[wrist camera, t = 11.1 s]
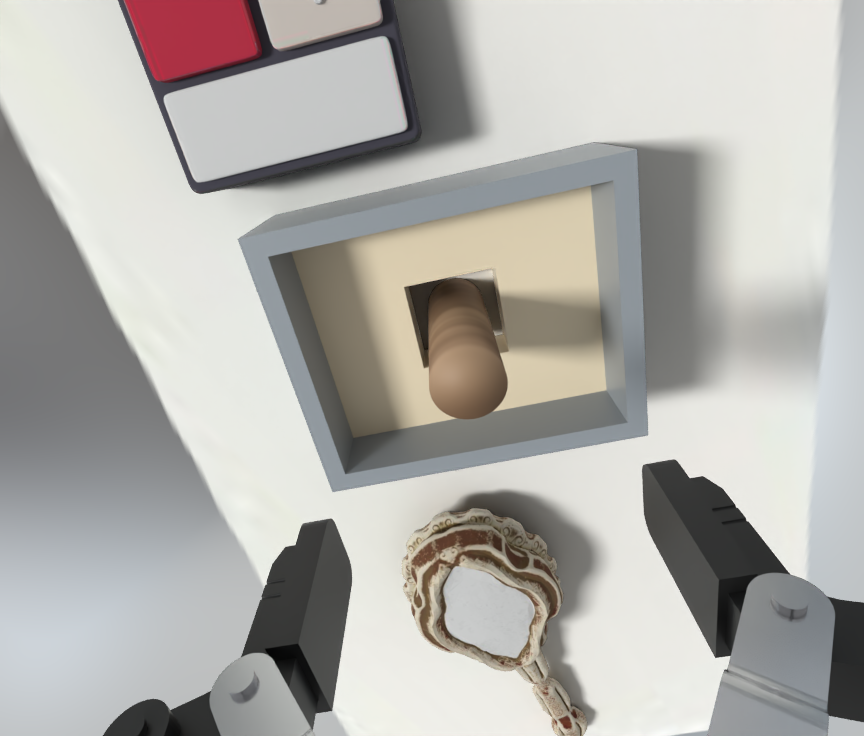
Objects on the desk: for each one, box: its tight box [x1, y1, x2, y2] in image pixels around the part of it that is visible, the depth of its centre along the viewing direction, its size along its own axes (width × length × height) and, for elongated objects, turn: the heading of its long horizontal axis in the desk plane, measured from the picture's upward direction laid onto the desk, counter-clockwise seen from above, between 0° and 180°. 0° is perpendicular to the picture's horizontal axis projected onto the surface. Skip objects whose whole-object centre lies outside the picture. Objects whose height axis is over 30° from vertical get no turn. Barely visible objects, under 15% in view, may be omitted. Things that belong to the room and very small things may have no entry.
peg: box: [428, 278, 508, 419], centre depth 26 cm, size 3×3×10 cm
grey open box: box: [238, 142, 648, 492], centre depth 27 cm, size 14×17×6 cm
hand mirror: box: [402, 508, 587, 736], centre depth 40 cm, size 11×6×30 cm
